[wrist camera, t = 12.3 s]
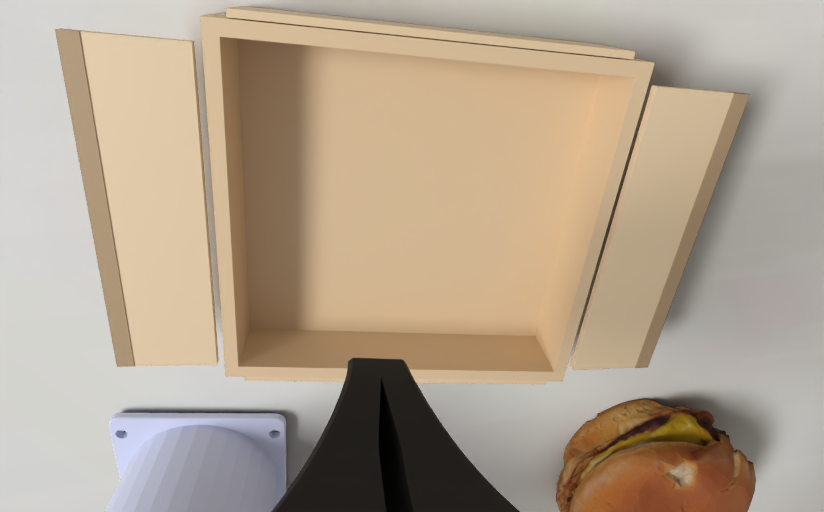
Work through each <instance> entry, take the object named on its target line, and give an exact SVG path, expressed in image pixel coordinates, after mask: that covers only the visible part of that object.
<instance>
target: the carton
mask: <svg viewBox="0 0 824 512" xmlns="http://www.w3.org/2000/svg"><path fill="white" fill-rule="evenodd" d="M200 20H201V34H202V49H203V63H204V77H205V91H206V105H207V120H208V134H209V148H210V162H211V176H212V190H213V205H214V219H215V233H216V247H217V261H218V276H219V290H220V304H221V318H222V332H223V346H224V361H225V375H226V377H245V380H248V381H322V382H345V379H346V375H347V368H348V361H349V360H351V359H352V358H378V359H403V360H404V361H405V362H406V364H407V366H408V368H409V370H410V372H411V374H412V376H413V378H414V380H415V382H416V383H471V384H545V383H546V381H563V379H564V375H565V372H566V368H567V365H568V362H569V358H570V355H571V351H572V348H573V344H574V341H575V337H576V334H577V330H578V327H579V324H580V320H581V317H582V313H583V310H584V306H585V303H586V299H587V296H588V292H589V289H590V285H591V282H592V279H593V275H594V272H595V268H596V265H597V261H598V258H599V254H600V251H601V247H602V244H603V241H604V237H605V234H606V230H607V227H608V223H609V220H610V216H611V213H612V209H613V206H614V203H615V199H616V196H617V192H618V189H619V185H620V182H621V178H622V175H623V171H624V168H625V164H626V161H627V158H628V154H629V151H630V147H631V144H632V140H633V137H634V133H635V130H636V126H637V123H638V120H639V116H640V113H641V109H642V106H643V102H644V99H645V95H646V92H647V88H648V85H649V81H650V78H651V75H652V71H653V68H654V64H655V63H653V62H649V61H644V60H640V59H636V58H634V55H635V51H631V50H626V49H621V48H616V47H611V46H606V45H601V44H594V43H585V42H575V41H566V40H557V39H547V38H538V37H528V36H519V35H510V34H500V33H491V32H482V31H472V30H463V29H454V28H444V27H435V26H426V25H416V24H407V23H398V22H388V21H379V20H369V19H360V18H351V17H341V16H332V15H323V14H313V13H304V12H295V11H285V10H276V9H267V8H257V7H248V6H240V7H231V8H226V13H217V14H210V15H203V16H200Z"/></svg>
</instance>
